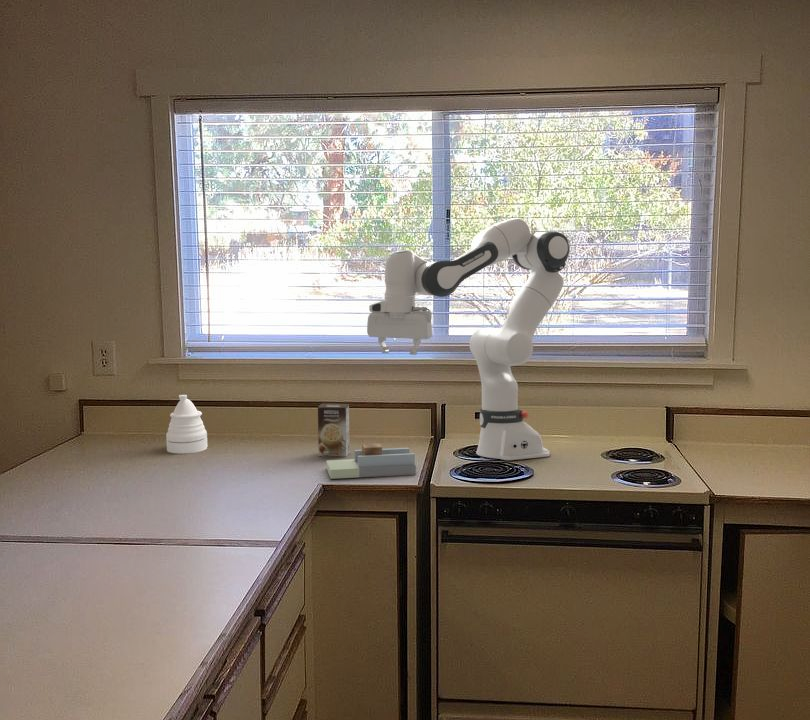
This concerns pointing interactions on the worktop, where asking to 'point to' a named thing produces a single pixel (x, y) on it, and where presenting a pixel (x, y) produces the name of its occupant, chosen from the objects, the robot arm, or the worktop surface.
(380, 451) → the walnut block
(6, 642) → the worktop surface
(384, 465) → the channel
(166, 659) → the worktop surface
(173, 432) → the honey pot
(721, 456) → the worktop surface
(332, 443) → the coffee box
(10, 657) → the worktop surface
